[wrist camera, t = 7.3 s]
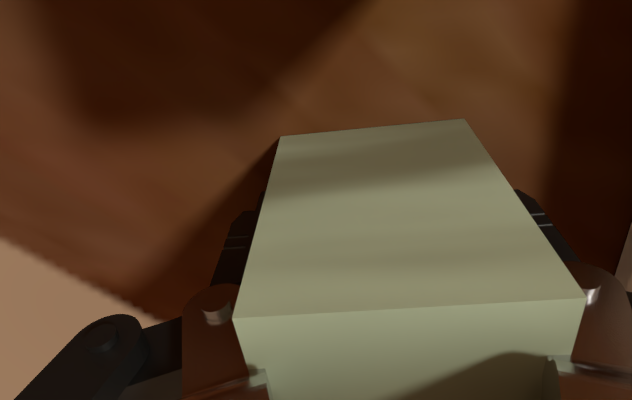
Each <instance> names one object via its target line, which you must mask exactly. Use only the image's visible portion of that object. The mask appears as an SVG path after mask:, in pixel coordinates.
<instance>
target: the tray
mask: <svg viewBox="0 0 632 400" xmlns="http://www.w3.org/2000/svg"><path fill="white" fill-rule="evenodd" d="M614 277H616V278H617V279H618V280H619V281H620V282H621V284H622V285H623V286H624V288H625V290H626V291H629V292H632V223H631V226H630V229H629V232H628V235H627V239H626V242H625V245H624V248H623V251H622V254H621V257H620V261H619V264H618V267H617V270H616V273H615V276H614Z"/></svg>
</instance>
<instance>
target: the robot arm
mask: <svg viewBox="0 0 632 400" xmlns="http://www.w3.org/2000/svg"><path fill="white" fill-rule="evenodd" d="M514 192H515V193H516V195H517V196H518V198H519V199H520V201H521V202H522V204H523V205H524V206H525V208H526V209H527V211H528V212H529V214H530V215H531V217H532V218H533V220H534V221H535V222H536V224H537V225H538V227H539V228H540V230H541V231H542V233H543V234H544V236H545V237H546V239H547V240H548V241H549V243H550V244H551V246H552V247H553V249H554V250H555V252H556V253H557V255H558V256H559V257H560V259H561V260H562V262H563V263H564V265H565V266H566V268H567V269H568V271H569V272H570V273H571V275H572V276H573V278H574V279H575V281H576V282H577V284H578V285H579V287H580V288H581V289H582V291H583V292H584V294H585V295H586V297H587V301H586V304H585V308H584V311H583V315H582V318H581V322H580V325H579V329H578V332H577V336H576V339H575V343H574V346H573V350H572V353H571V354H569V355H547V357H546V361H545V366H544V370H543V374H542V395H541V400H632V292H629V291H626V290H625V288H624V286H623V285H622V284H621V282H620V281H619V280H618V279H617V278H616V277H614V276H613V275H612V274H610V273H609V272H607V271H605V270H603V269H601V268H599V267H597V266H594V265H591V264H587V263H583V262H581V261H580V260H579V258H578V257H577V256H576V254H575V253H574V252H573V250H572V249H571V248H570V246H569V245H568V243H567V242H566V241H565V239H564V238H563V237H562V235H561V234H560V233H559V231H558V230H557V229H556V227H555V226H553V225H552V222H551V221H550V219H549V218H548V216H547V215H545V214H544V213H545V212H544V211H543V210H542V208H541V207H540V206H539V204H538V203H537V202H536V200H535V199H533V198H531V197H530V196H528V195H527V194H525V193H523V192H522V191H520V190H518V189H516V190H514ZM265 193H266V191H264V192H261V194H260V197H259V201H258V204H257V208H256V211H244V212H243V213H242V214H241V215H240V216H239V217H238V218H237V219H236V220H235V221H234V222H233V223H232V224H231V227H230V230H229V233H228V236H227V239H226V241H225V244H224V250H222V253H221V255H220V258H219V261H218V264H217V267H216V269H215V272H214V275H213V278H212V281H211V284H210V286H209V287H208V288H206V289H203V290H202V291H200V292H198V293H197V294H196V295H194V296H193V297H192V298H191V299H190V300H189V301H188V303H187V304H186V306H185V307H184V310H183V313H182V316H180V317H178V318H176V319H173V320H170V321H167V322H164V323H160V324H157V325H154V326H151V327H148V328H144V329H142V327H141V325H140V323H139V321H138V320H137V319H136V318H135V317H133V316H130V315H125V314H116V315H111V316H107V317H104V318H101V319H99V320H97V321H95V322H93V323H91V324H90V325H88V326H87V327H85V328H84V329H82V330H81V331H80V332H79V333H78V334H77V335H76V336H75V337H74V338H73V339H72V340H71V341H70V342H69V343H68V344H67V345H66V346H65V347H64V348H63V349H62V350H61V351H60V352H59V353H58V354H57V355H56V357H55V358H54V359H53V360H52V361H51V362H50V363H49V364H48V365H47V366H46V367H45V368H44V369H43V370H42V371H41V372H40V373H39V374H38V375H37V376H36V377H35V378H34V379H33V380H32V381H31V382H30V384H28V385H27V386H26V388H25V389H24V390H23V391H22V392H21V393H20V394H19V395H18V396H17V397H16V398H15V399H14V400H273V395H272V391H271V387H270V383H269V380H268V376H267V373H266V369H265V368H263V369H248V368H247V365H246V362H245V358H244V355H243V352H242V349H241V346H240V343H239V340H238V336H237V333H236V330H235V327H234V324H233V321H232V316H233V312H234V308H235V305H236V301H237V297H238V294H239V290H240V286H241V282H242V279H243V275H244V271H245V267H246V264H247V260H248V256H249V252H250V249H251V245H252V241H253V237H254V234H255V230H256V226H257V223H258V219H259V215H260V211H261V208H262V204H263V200H264V196H265Z"/></svg>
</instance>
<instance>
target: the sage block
mask: <svg viewBox="0 0 632 400" xmlns="http://www.w3.org/2000/svg"><path fill="white" fill-rule="evenodd" d="M586 301H587V297H586V295H585V294H584V292H583V291H582V289H581V288H580V287H579V285H578V284H577V282H576V281H575V279H574V278H573V276H572V275H571V273H570V272H569V271H568V269H567V268H566V266H565V265H564V263H563V262H562V260H561V259H560V257H559V256H558V255H557V253H556V252H555V250H554V249H553V247H552V246H551V244H550V243H549V241H548V240H547V239H546V237H545V236H544V234H543V233H542V231H541V230H540V228H539V227H538V225H537V224H536V222H535V221H534V220H533V218H532V217H531V215H530V214H529V212H528V211H527V209H526V208H525V206H524V205H523V204H522V202H521V201H520V199H519V198H518V196H517V195H516V193H515V192H514V190H513V189H512V188H511V186H510V185H509V183H508V182H507V180H506V179H505V177H504V176H503V174H502V173H501V172H500V170H499V169H498V167H497V166H496V164H495V163H494V161H493V160H492V158H491V157H490V155H489V154H488V153H487V151H486V150H485V148H484V147H483V145H482V144H481V142H480V141H479V139H478V138H477V137H476V135H475V134H474V132H473V131H472V129H471V128H470V126H469V125H468V123H467V122H466V121H465V119H454V120H444V121H433V122H423V123H413V124H403V125H393V126H383V127H373V128H363V129H352V130H342V131H332V132H322V133H312V134H302V135H292V136H281V137H280V140H279V144H278V148H277V152H276V155H275V159H274V163H273V166H272V170H271V174H270V178H269V181H268V185H267V189H266V193H265V196H264V200H263V204H262V208H261V211H260V215H259V219H258V223H257V226H256V230H255V234H254V237H253V241H252V245H251V249H250V252H249V256H248V260H247V264H246V267H245V271H244V275H243V279H242V282H241V286H240V290H239V294H238V297H237V301H236V305H235V308H234V312H233V316H232V321H233V324H234V327H235V330H236V333H237V336H238V340H239V343H240V346H241V349H242V352H243V355H244V358H245V362H246V365H247V368H248V369H263V368H265V369H266V373H267V376H268V380H269V383H270V387H271V391H272V395H273V400H541V395H542V374H543V370H544V366H545V361H546V357H547V355H569V354H571V353H572V350H573V346H574V343H575V339H576V336H577V332H578V329H579V325H580V322H581V318H582V315H583V311H584V308H585V304H586Z"/></svg>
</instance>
